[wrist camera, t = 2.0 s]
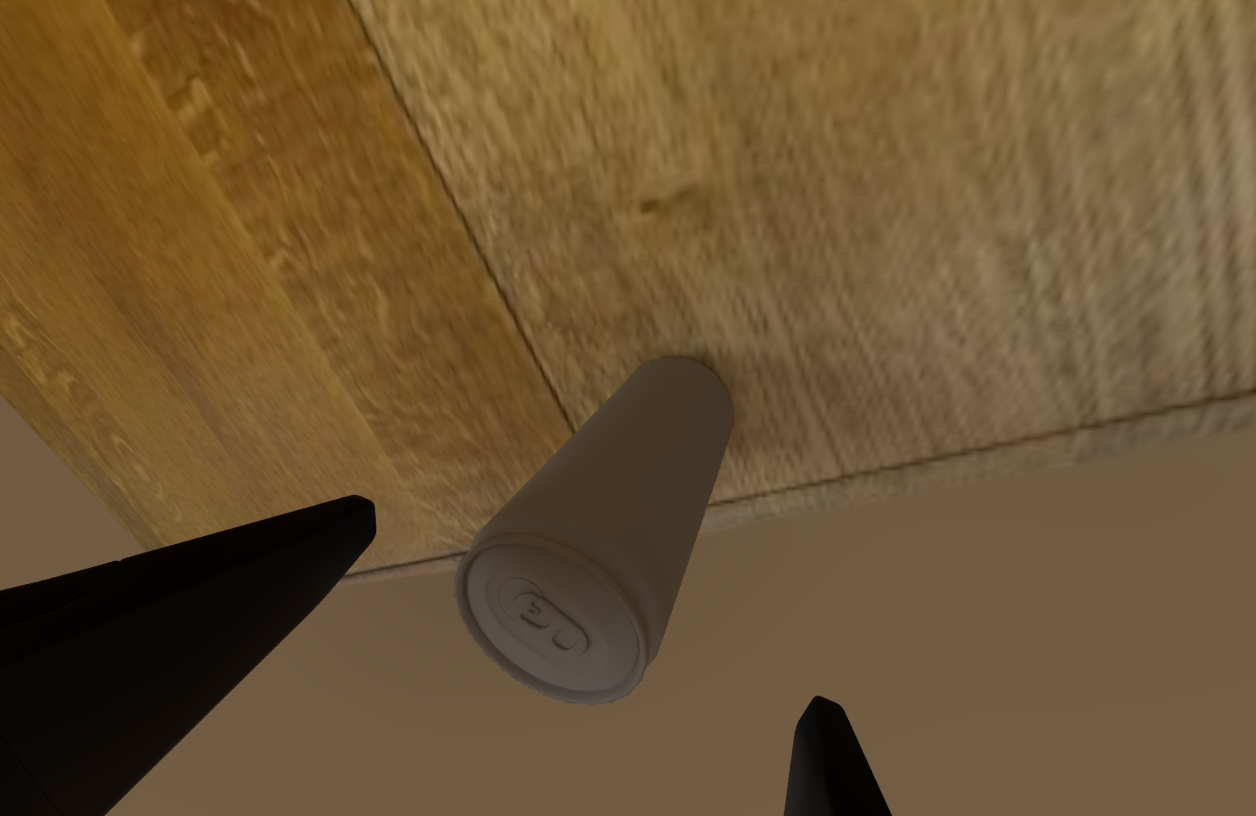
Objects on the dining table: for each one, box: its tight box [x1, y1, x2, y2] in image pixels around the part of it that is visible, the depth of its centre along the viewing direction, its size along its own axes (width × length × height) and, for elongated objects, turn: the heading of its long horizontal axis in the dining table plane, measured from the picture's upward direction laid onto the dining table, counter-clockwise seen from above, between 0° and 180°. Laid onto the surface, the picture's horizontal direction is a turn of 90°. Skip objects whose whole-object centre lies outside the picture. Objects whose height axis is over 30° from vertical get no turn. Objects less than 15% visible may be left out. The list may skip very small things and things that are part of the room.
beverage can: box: [454, 357, 733, 705], centre depth 15 cm, size 5×5×12 cm
